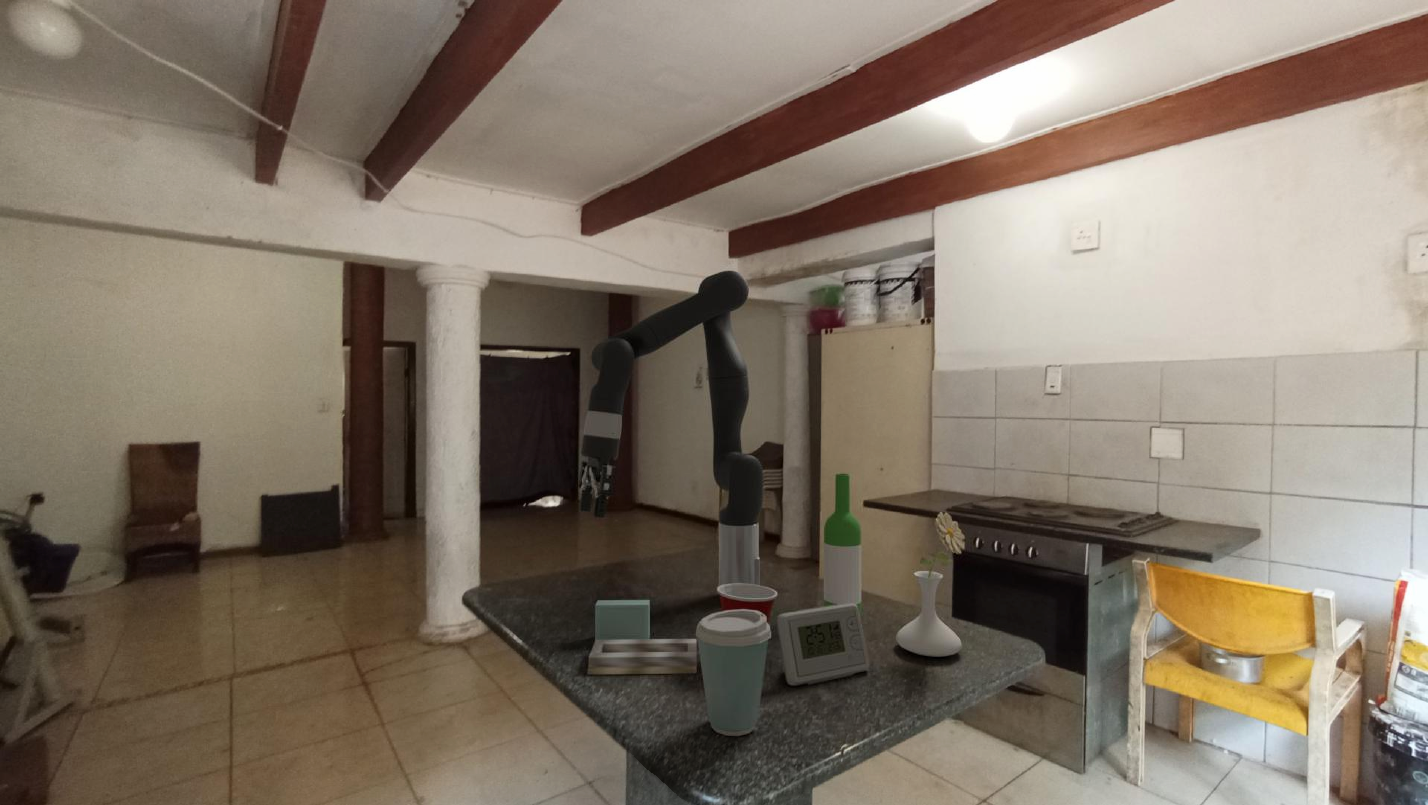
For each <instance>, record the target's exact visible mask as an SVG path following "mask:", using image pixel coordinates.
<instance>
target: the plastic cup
mask: <svg viewBox="0 0 1428 805" xmlns="http://www.w3.org/2000/svg"><path fill="white" fill-rule="evenodd" d="M716 591H717V593H718V597H719V600H720V601H719V602H720V606H721V609H722V611H726V610H738V609H747V610H757V611H759V612H761V613H763V614H764V615H765V616H766V618H767V623H768V624H769V622H770V618H771V611H772V608H773V605H774V603H775V599H776V598H778V592H777V591H776V590H775V589H773V588H770V587H767V586H765V585H764V586H763V585H760V586H759V585H754V584H742V583H735V584H725V585H721V586H719V585H718V586H717V587H716ZM722 611H721V612H722ZM769 625H770V624H769Z"/></svg>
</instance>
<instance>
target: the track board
mask: <svg viewBox="0 0 1428 805" xmlns="http://www.w3.org/2000/svg"><path fill="white" fill-rule="evenodd" d="M697 650H698V649H697V638H659V639H658V638H649V639H628V640H596V641H595V640H594V644H593V646H592V648H591V651H590V653H589V656H588V668H587V675H636V674H637V675H645V674H646V675H654V674H655V675H657V674H658V675H659V674H661V675H662V674H666V675H667V674H670V675H671V674H673V675H674V674H697V672H698V671H697V669H698V668H697V667H698V666H697V665H698V664H697V658H698V656H697Z"/></svg>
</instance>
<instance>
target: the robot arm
mask: <svg viewBox="0 0 1428 805" xmlns="http://www.w3.org/2000/svg"><path fill="white" fill-rule="evenodd" d="M749 289H750V288H749V284H748V281H747V279H746V277H745V276H744V275H743V274H741V273H740V272H737V271H734V270H723V271H722V270H721V271H719V272H717V273H714V274H711V275H708V276H707V277H705V278H703V280H702V281H701V282H700V284H699V287H698V291H697V293H695V294H693V295H691V296H690V297H689V298H686V299H684V300H682V301H680V302H677V303H675V304H673V305H671V306H668V307H666V308H664V309H661V310H659V311H657V312H655V313H653V314H652V315H649V316H648V317H646V318H644V319H642V320H641V321H639V322H637V323H635V324H634V325H632V326H631V327H630V328H627V329H626V330H623V331H621V332H619V333H616V334H614V335H612V336H610V337H608V338H606V339H604V340H603V341H601V342H599V343H598V344H596V346H594V347H593V349H592V351H591V356H590V357H591V358H590V360H591V364H592V366H593V367H594V369H595V370H596V371H598V378H597V380H596V383H595V384H594V385H593V386H592V387H591V391H590V393H589V401H588V407H587V408H588V409H587V414H586V417H585V422H584V427H583V435H582V442H581V444H582V445H581V449H580V455H581V456H582V457H585V458H588V459H587V460H582V461H581V464H580V465H581V467H580V472H579V478H578V484H577V487H578V489H580V490H579V491H580V493H581V494H580V499H579V501H580V503H579V507H578V508H579V511H580V512H588V513H589V512H590V511H591V508H592V503H593V502H592V501H593V493H594V496H595V497H594V503H593V508H592V509H593V511H592V516H593V517H594V518H604V517H605V514H606V508H607V507H606V506H607V499H609V497H613V495H614V494H613V492H614V485H615V483H614V482H615V477H616V476H615V474H616V466H615V465H610V461H612V460H613V461H616V460H617V459H618V456H619V451H620V450H619V449H620V444H621V443H620V442H621V435H622V426H623V424H622V422H623V420H622V419H623V418H622V417H623V411H624V402H625V394H626V392H627V390H628V387H629V383H630V379H631V378H632V377H631V376H632V374H633V371H634V370H633V369H634V365H635V360H636V359H638V358H641V357H643V356H644V357H645V356H647V355H650V354H652V353H654V352H656V351H658V350H659V349H661V348H662V347H665V346H666V345H667V344H669V343H671V342H673V341H675V340H676V339H678V338H679V337H681V336H682V335H684V334H686V333H687V332H688V331H691V330H692V329H694V328H696V327H697V326H699V325H701V324H702V326H703V327H702V328H703V331H704V332H703V333H704V339H705V350H706V351H705V352H706V361H707V377H708V378H707V379H708V388H709V399H710V407H711V409H710V410H711V422H712V433H713V434H712V436H713V439H712V440H713V444H712V445H713V447H712V448H713V449H712V456H713V457H712V467H713V468H712V472H713V477H714V481H715V484H716V486H718V487H719V488H720V489H721V490H723V491H724V492H725V491H726V492H728V499H727V505H726V506H725V507H723V508H722V509H720V511H719V514H718V523H719V524H718V527H719V528H718V587H719V586H721V585H725V584H735V583H742V584H754V585H759V586H761V581H760V580H761V576H760V573H761V572H760V571H761V561H760V556H759V550H760V548H759V544H760V542H759V540H760V539H759V538H760V536H759V534H760V531H759V530H760V528H759V527H760V526H759V524H760V523H759V519H760V514H761V512H762V510H763V509H762V508H763V502H764V501H763V498H764V497H763V496H764V471H763V466H762V463H761V462H760V460H759V459H758V458H757V457H755V456H753V455H751V454H745V453H743V448H742V447H743V446H742V439H741V438H742V437H741V436H742V434H741V432H742V431H741V430H742V424H743V420H744V417H745V415H746V411H747V408H748V405H749V399H750V387H749V386H750V385H749V374H748V368H747V364H746V361H745V358H744V357H743V355H742V353H741V351H740V349H739V347H738V345H737V343H736V341H735V337H734V335H733V329H732V319H731V318H732V317H731V313H732V312H733V311H736V310H738V309H740V308H741V307H743V305H744V304H745V303H746V302H747V300H748V297H749V292H750V290H749Z"/></svg>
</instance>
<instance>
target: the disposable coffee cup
mask: <svg viewBox="0 0 1428 805" xmlns="http://www.w3.org/2000/svg"><path fill="white" fill-rule="evenodd" d="M695 632H696V633H695V637H696V640H697V645H698V652H699V658H700V659H699V661H700V666H701V667H700V668H701V672H702V679H703V680H702V682H703V688H704V695H705V702H706V709H707V715H708V716H707V717H708V722H709V723H710V726H711V728H712V729H713V730H714V731H715V732H716V733H718V734H721V735H723V736H728V737H730V736H731V737H740V736H744V735H748V734H750V733H751V732H753V731H754V730H755V729H756V726H757V724H758V722H759V721H758V720H759V713H760V712H759V711H760V706H761V705H760V704H761V698H762V697H761V696H762V692H763V691H762V690H763V682H764V675H765V668H766V667H765V666H766V661H767V660H766V658H767V653H768V652H767V651H768V644H769V639H771V638H772V631H771V626H770V624H768V623H767V618H766V616H765V615H764V614H763V613H761V612H759V611H757V610H747V609H738V610H726V611H717V612H714V613H710V614H709V615H707V616H705V617H703V618H702V619H701V620H700V621H699V622H698V623H697V626H696V631H695Z"/></svg>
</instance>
